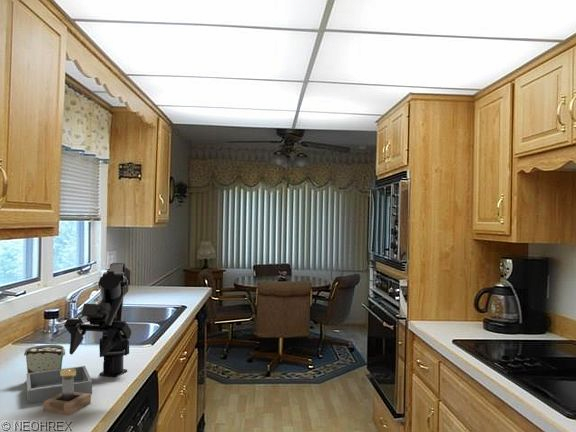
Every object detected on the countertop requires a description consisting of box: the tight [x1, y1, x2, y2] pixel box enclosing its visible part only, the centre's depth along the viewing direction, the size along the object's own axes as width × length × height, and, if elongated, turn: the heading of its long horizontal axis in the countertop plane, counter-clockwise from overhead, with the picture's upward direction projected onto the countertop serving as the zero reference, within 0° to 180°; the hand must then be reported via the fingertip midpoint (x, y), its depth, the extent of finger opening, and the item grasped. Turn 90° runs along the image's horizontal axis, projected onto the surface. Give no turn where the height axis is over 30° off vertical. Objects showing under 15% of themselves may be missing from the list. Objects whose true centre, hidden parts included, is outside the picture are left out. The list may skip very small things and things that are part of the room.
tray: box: [25, 365, 93, 405], centre depth 137 cm, size 16×16×5 cm
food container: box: [23, 344, 66, 374], centre depth 151 cm, size 12×6×10 cm, turn 92°
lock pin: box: [60, 367, 76, 402], centre depth 124 cm, size 4×4×10 cm
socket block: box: [42, 392, 92, 416], centre depth 124 cm, size 8×8×4 cm
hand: (85, 354), depth 132 cm, fingers open, 9 cm apart
